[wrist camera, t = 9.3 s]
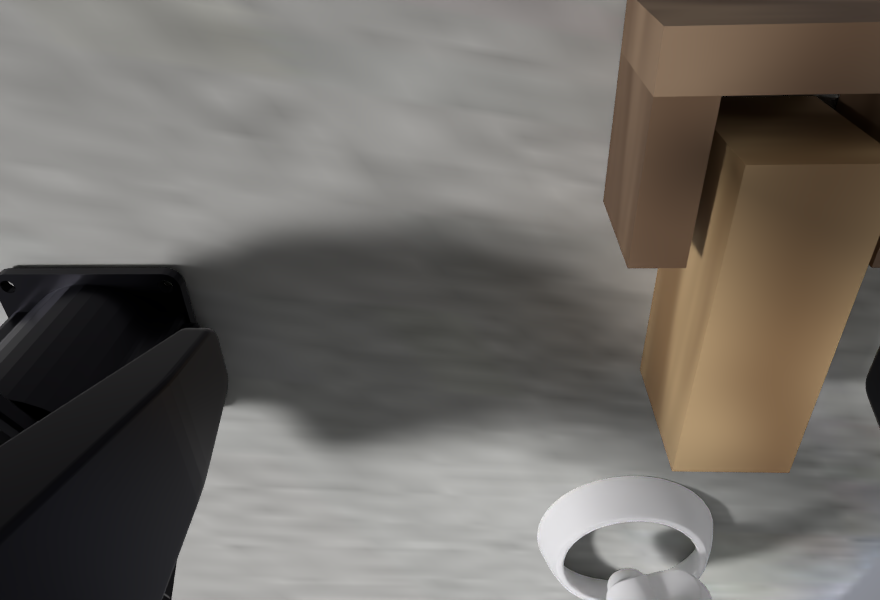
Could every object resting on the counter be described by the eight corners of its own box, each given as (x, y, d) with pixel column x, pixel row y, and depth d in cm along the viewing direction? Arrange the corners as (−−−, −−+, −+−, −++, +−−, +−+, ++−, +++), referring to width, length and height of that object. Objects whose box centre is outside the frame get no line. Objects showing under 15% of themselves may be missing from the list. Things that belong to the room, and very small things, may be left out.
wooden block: (639, 366, 25) (672, 471, 21) (687, 96, 19) (745, 165, 15) (736, 367, 25) (789, 472, 20) (812, 94, 19) (907, 163, 15)
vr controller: (718, 479, 20) (844, 696, 20) (654, 423, 32) (731, 557, 31) (501, 589, 21) (614, 800, 20) (516, 495, 33) (588, 627, 32)
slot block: (603, 201, 21) (627, 268, 18) (627, -8, 18) (664, 25, 14) (858, 199, 21) (931, 267, 17) (933, -16, 17) (1042, 19, 14)
